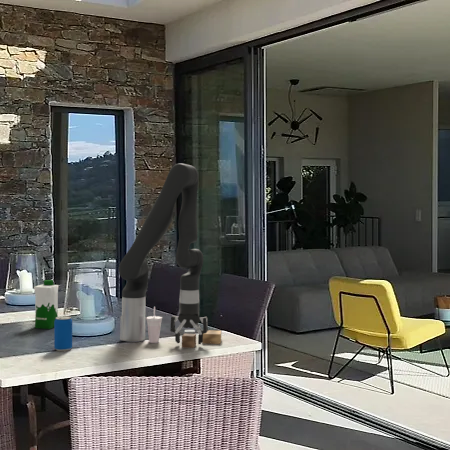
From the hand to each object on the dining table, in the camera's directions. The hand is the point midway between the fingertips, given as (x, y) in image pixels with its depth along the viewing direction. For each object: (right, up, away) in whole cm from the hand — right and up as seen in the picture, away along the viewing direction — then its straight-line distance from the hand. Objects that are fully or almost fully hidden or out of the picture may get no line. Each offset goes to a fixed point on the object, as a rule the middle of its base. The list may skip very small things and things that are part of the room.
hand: (188, 343), depth 256 cm
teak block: (+9, -1, +9) cm, 12 cm away
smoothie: (-14, -1, +7) cm, 16 cm away
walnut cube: (0, -1, 0) cm, 1 cm away
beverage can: (-46, -1, -8) cm, 47 cm away
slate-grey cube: (0, -1, +10) cm, 10 cm away
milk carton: (-63, +1, +33) cm, 71 cm away
